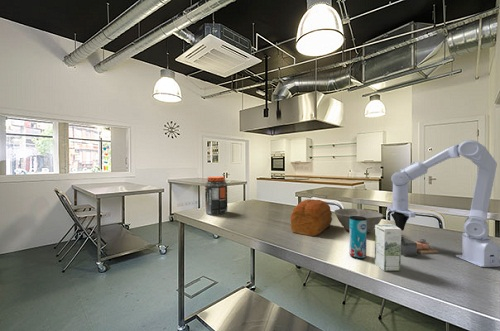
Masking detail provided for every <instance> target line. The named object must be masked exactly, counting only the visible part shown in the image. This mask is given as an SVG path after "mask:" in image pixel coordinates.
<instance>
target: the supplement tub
mask: <svg viewBox="0 0 500 331" xmlns="http://www.w3.org/2000/svg"><path fill="white" fill-rule="evenodd" d="M206 180H207V182H205V186H204V192H205V193H204V194H205V195H204V196H205V197H204V198H205V202H204V203H205V207H204V208H205V213H206V214H208V215H211V216H219V215H223V214H224V215H225V214H226V213H228V183H227V182H226V181H225V180H226V178H225V176H208V177H207V179H206Z"/></svg>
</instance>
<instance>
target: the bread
mask: <svg viewBox="0 0 500 331" xmlns="http://www.w3.org/2000/svg"><path fill="white" fill-rule="evenodd" d="M332 216H333V212H332V211H331V207H330V205H329V204H328V203H327V202H326V201H323V200H321V199H310V198H309V199H305V200H301V201H300V202H299V203H298V204H296V205H295V207H294V208H293V209H292V212H291V214H290V228H291V231H292V233H295V234H298V235H304V236H310V237H311V236H312V237H316V236H318V235H320V234H321V233H322V232H323V231H324V230H326V229H327V228H328V227H330V226H331V223H332V221H333V218H332Z"/></svg>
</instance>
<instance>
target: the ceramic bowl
mask: <svg viewBox="0 0 500 331" xmlns="http://www.w3.org/2000/svg"><path fill="white" fill-rule="evenodd" d="M333 213H334V214H335V216H336V219H337V220H338V222H339V223H340V225H341V226H342V227H343V228H344V229H345V230H346V231H348V232H350V216H361V217H365V218H366V223H367V233H370V232H372V231H373V230H375V225H378V224H381V223H380V222H381V221H382V219H383V218H384V214H382V213H380V212H379V211H378V212H377V211H374V210H370V209H365V208H364V209H363V208H338V209H334V211H333Z"/></svg>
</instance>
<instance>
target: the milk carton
mask: <svg viewBox="0 0 500 331" xmlns="http://www.w3.org/2000/svg"><path fill="white" fill-rule="evenodd" d="M401 237H402V231H401V229H400V228H398V227H397V226H396V224H395V225H394V224H391V223H390V224H389V223H388V224H386V223H383V224H382V223H379V224H378V225H375V229H374V265H375V264H376V265H375V266H377V267H378V266H379V267H380V268H379V267H378V268H379V269H381V271H383V270H384V272H401V260H402V259H401V258H402V257H401V256H402V255H401Z"/></svg>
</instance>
